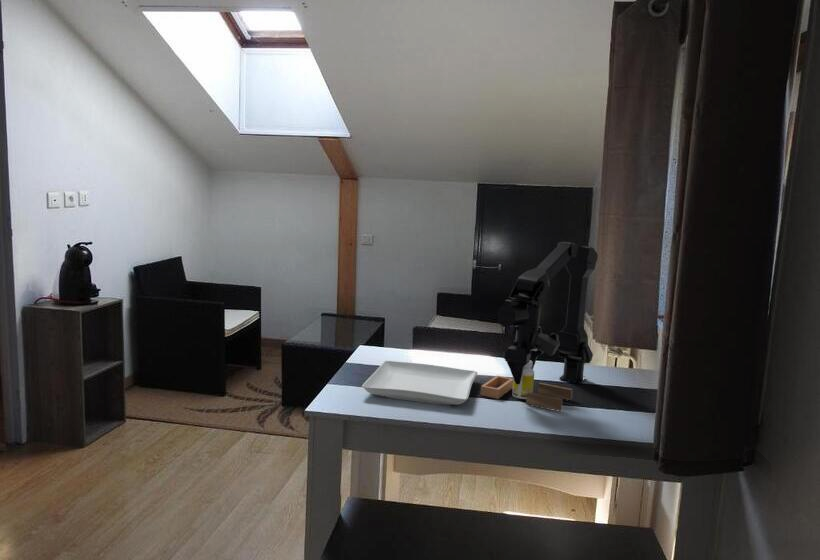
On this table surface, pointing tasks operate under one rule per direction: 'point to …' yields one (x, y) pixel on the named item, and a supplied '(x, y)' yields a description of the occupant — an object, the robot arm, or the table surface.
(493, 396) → the trap pit
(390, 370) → the square plate
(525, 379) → the supplement bottle
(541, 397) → the walled lane
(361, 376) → the table surface
